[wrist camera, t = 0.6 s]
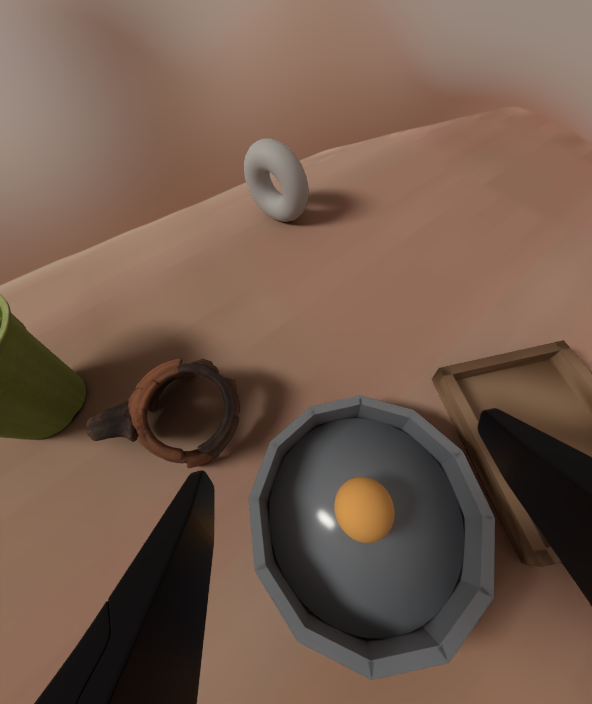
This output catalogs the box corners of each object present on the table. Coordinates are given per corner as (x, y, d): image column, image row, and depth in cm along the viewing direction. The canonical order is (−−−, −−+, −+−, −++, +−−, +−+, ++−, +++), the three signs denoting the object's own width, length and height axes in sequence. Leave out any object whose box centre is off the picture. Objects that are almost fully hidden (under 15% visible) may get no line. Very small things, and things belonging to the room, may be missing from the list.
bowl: (519, 621, 18) (553, 639, 15) (277, 675, 18) (266, 703, 15) (418, 396, 26) (428, 380, 23) (251, 433, 26) (241, 421, 23)
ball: (397, 535, 20) (410, 537, 17) (342, 547, 20) (343, 551, 17) (378, 475, 23) (386, 466, 19) (328, 486, 23) (327, 479, 19)
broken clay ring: (219, 355, 32) (224, 336, 24) (246, 439, 31) (261, 447, 23) (93, 391, 27) (51, 383, 20) (121, 490, 26) (88, 521, 19)
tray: (681, 527, 19) (719, 527, 18) (521, 562, 19) (541, 566, 18) (547, 353, 27) (563, 340, 25) (431, 379, 27) (438, 368, 25)
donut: (316, 222, 41) (311, 142, 32) (301, 236, 39) (292, 156, 31) (264, 202, 45) (247, 126, 36) (249, 214, 43) (228, 138, 35)
